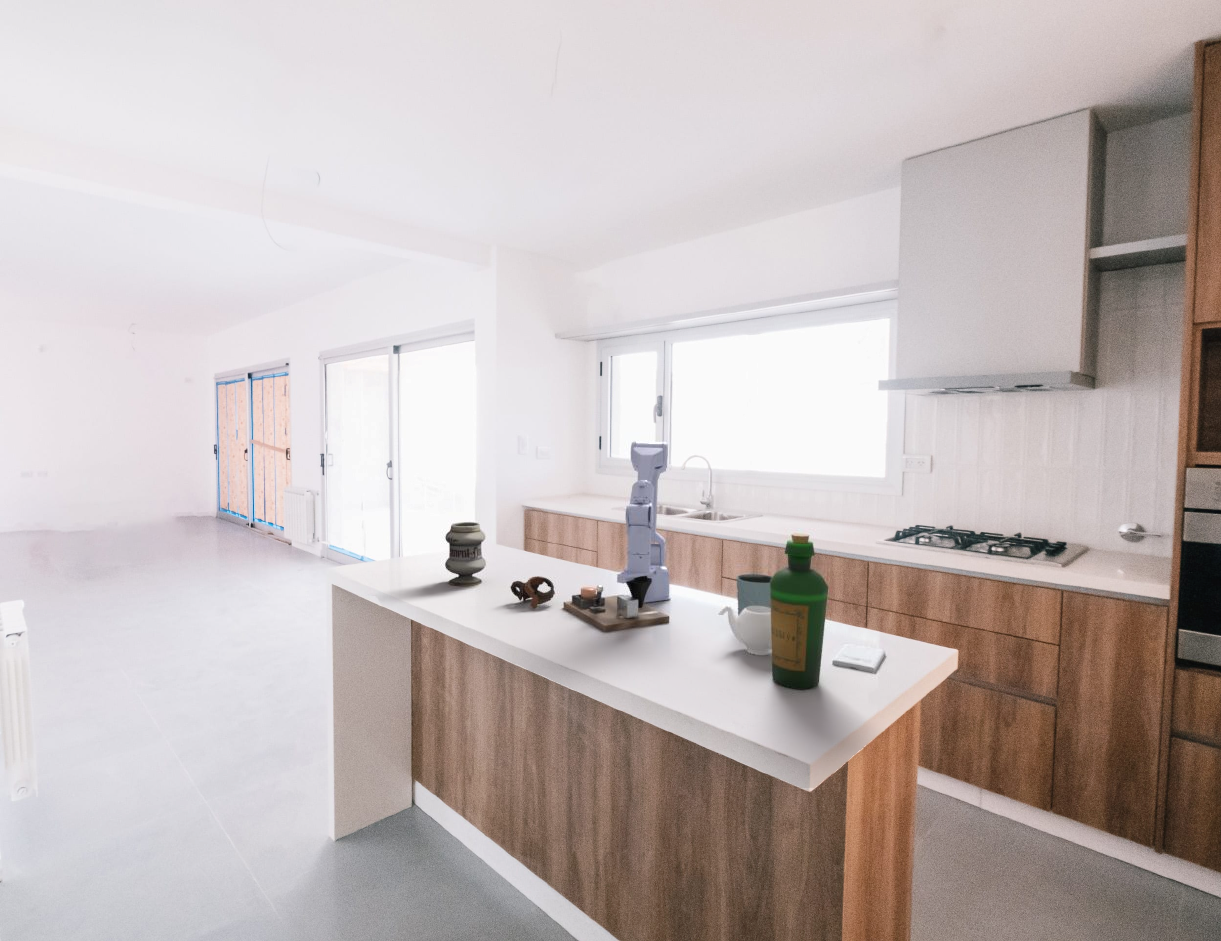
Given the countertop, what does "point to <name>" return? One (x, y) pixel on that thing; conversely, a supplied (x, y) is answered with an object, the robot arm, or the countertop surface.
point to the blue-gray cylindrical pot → (753, 591)
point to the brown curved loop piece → (533, 590)
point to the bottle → (797, 617)
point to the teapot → (752, 628)
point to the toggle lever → (598, 596)
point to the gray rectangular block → (627, 606)
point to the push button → (588, 593)
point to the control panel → (612, 614)
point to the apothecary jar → (465, 553)
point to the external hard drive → (859, 657)
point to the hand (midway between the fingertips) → (638, 607)
